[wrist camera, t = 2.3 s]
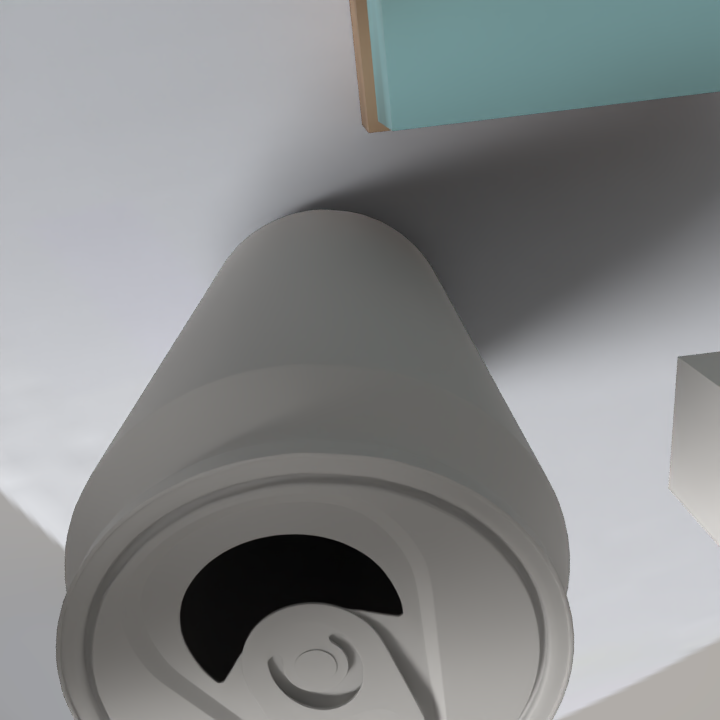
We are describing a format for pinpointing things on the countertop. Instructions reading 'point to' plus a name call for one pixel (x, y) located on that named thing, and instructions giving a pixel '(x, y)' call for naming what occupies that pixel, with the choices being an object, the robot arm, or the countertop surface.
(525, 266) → the countertop surface
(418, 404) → the beverage can
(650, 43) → the teal and brown block
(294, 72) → the countertop surface
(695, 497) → the robot arm
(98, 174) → the countertop surface
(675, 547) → the countertop surface
